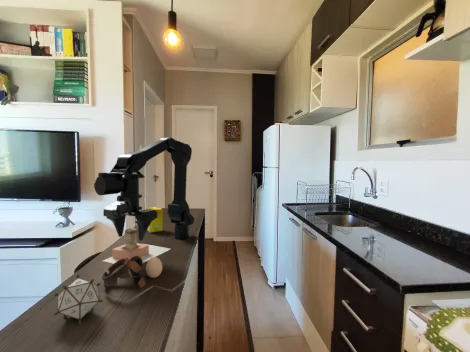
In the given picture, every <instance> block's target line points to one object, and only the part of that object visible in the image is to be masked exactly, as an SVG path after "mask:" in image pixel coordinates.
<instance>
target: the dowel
mask: <svg viewBox="0 0 470 352" xmlns="http://www.w3.org/2000/svg"><path fill="white" fill-rule="evenodd" d="M137 233H138V230H137V229H136V228H133V227H132V228H130V227H129V228H126V229H125V230H124V245H125V249H127V250H133V249H135V248H137V243H138V241H137Z"/></svg>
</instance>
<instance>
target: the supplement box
mask: <svg viewBox="0 0 470 352" xmlns="http://www.w3.org/2000/svg"><path fill="white" fill-rule="evenodd" d="M146 209H153V210H156V211H157V218H156V219H154V220H153V221H152V222H151V224H150V225H149V227H148V229H147V231H146V232H147V233H149V234H152V233H160V232H163V231H164V230H163V228H164V227H163V208H161V207H159V206H154V207H146Z"/></svg>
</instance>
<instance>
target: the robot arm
mask: <svg viewBox="0 0 470 352" xmlns="http://www.w3.org/2000/svg"><path fill="white" fill-rule="evenodd" d="M165 151H166V152H167V153H169V154H170V159H171V161H172V163H173V165H174V172H173V173H174V176H173V177H174V179H173V200H171V203H168V204H167V213H166V214H168V218H169V219H170V223H171V224H174V236H172V237H171V238H172V239H176V240H183V241H184V240H187V239H188V238H191V237H194V236H193V234H191V231H190V230H191V228H190V226H192V225H193V224H194V223H195V218H194V216H193V215H192V213H190V205H189V203H188V202H187V195H186V194H187V174H188V173H187V170H188V167H187V166H188V165H189V163H190V161H191V160H192V159H191V158H192V152H193V150H192V147H191V146H190V144H188V143H184V142H181V141H180V140H176V139H174V138H173V137H170V136H169V137H161V138H159V139H158V140H157V141H154V142H153V143H151V144H149V145H147V146H145V147H142V148H141V149H139V150H137V151H132V152H127V153H123V154H121V155H119V156H117V160H116V162H115V164H114V166H113V167H112V168H111V170H110V172H98V176H97V177H96V179H95V181H94V183H93V186H94V187H93V188H94V191H95V193H96V194H97V195H98V196H107V195H108V196H109V195H117V194H119V193H120V195H117V197H116V201H114V202H112V203H110V204H108V205H107V206H105V207H104V208H103V217H106V219H107V220H109V221H111V222H112V223H113V226H114V228H115V230H116V233H117V236H118V237H119V238H121V237H122V236H123V234H124V231H125V230H124V229H125V223H126V217H127V216H129V217H135V221H134V222H135V224H137V228H138V230H137V233H138V241H143V239H144V237H145V235H146V233H147V232H148V231H147V229H148V227H149V225H150V224H151V222H152V221H153V220H154V219H156V218H157V211H156V210H153V209H143V207H142V206H141V205H140V199H141V198H142V197H143V194H140V179H144V178H145V175H144V174H143V173H141V171H140V170H142V169H143V168H144V167H145V166H146V164H147V163H148V161H149V160H151V159H153V158H155V157H157V156H158V155H160V154H161V153H163V152H165Z"/></svg>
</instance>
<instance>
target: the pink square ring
mask: <svg viewBox="0 0 470 352" xmlns="http://www.w3.org/2000/svg"><path fill="white" fill-rule="evenodd" d="M149 245H150V244H148V245H146V243H139V242H137V248H135V249H133V250H127V249H125V244H122V245H119V246H117V247H115V248H112V249H111V251H112V257H113V258H115V259H119V260H120V259H122V258H128V259H129V260H130V259H131V258H132V257H134V256H139V257H140V258H141V257H143V256H145V255H147V254H149Z"/></svg>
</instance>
